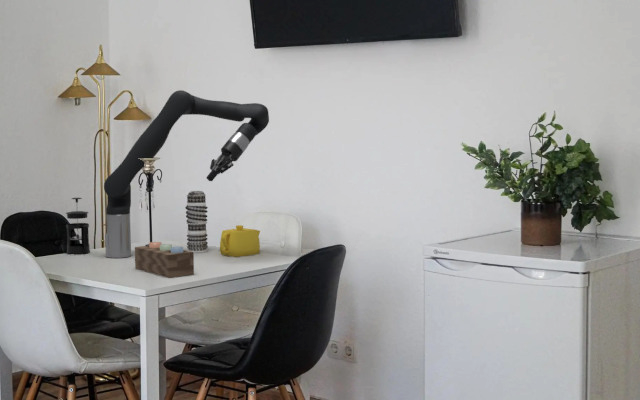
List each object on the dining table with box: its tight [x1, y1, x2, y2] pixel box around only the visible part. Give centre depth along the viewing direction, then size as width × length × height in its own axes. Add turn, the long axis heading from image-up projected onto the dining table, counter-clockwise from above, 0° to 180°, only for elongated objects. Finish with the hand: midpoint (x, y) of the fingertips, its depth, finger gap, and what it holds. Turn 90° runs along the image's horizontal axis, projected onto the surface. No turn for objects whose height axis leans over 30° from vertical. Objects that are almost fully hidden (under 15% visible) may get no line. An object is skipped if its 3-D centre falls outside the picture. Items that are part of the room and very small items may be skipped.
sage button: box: [160, 243, 173, 251], centre depth 308 cm, size 4×4×6 cm
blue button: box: [171, 246, 184, 253], centre depth 302 cm, size 4×4×6 cm
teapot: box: [219, 224, 261, 258], centre depth 348 cm, size 20×12×12 cm, turn 137°
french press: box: [65, 197, 91, 255], centre depth 352 cm, size 12×9×23 cm
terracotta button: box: [148, 241, 162, 248], centre depth 314 cm, size 4×4×6 cm
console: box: [134, 245, 195, 279], centre depth 308 cm, size 25×10×8 cm, turn 39°
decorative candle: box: [185, 190, 209, 253], centre depth 355 cm, size 9×9×25 cm
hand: (208, 179), depth 323 cm, fingers closed
